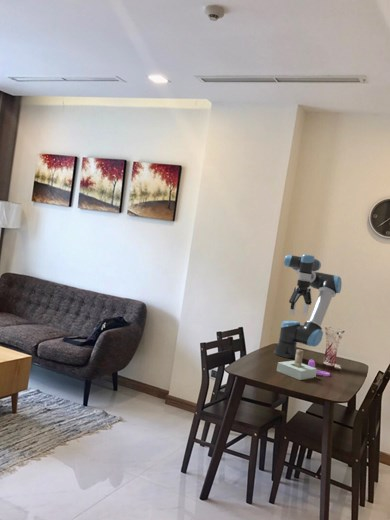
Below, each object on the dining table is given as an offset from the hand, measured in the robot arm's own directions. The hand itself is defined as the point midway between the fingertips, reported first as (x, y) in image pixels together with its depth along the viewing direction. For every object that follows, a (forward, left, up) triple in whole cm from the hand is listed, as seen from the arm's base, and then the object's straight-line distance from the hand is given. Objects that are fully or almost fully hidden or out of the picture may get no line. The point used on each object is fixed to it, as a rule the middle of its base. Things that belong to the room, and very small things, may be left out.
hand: (298, 314), depth 291 cm
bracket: (-6, +17, -32) cm, 37 cm away
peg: (+12, +13, -32) cm, 36 cm away
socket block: (+12, +13, -32) cm, 36 cm away
